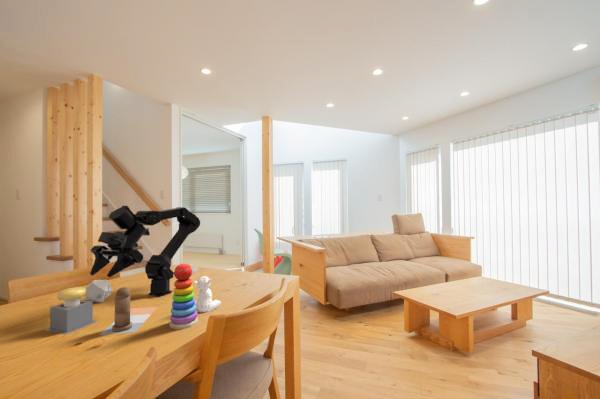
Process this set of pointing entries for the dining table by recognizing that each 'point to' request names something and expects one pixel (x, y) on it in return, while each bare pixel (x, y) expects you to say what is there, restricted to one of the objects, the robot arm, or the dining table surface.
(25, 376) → the dining table surface
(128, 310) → the brown round-topped post
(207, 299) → the seated beast figurine
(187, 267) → the stacking toy
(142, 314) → the game board
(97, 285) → the die
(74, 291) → the dome button
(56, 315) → the box
